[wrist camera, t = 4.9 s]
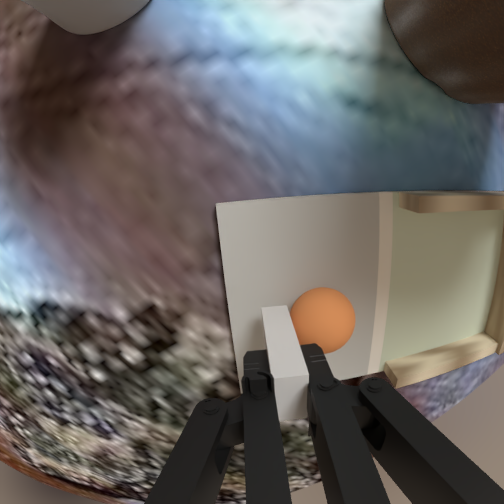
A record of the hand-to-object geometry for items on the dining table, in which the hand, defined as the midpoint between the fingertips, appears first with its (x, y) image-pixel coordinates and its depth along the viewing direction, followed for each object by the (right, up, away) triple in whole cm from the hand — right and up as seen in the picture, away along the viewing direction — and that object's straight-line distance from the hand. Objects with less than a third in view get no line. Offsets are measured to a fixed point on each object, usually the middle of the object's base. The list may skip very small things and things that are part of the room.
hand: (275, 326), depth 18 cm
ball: (+3, 0, 0) cm, 3 cm away
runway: (+9, +2, +2) cm, 9 cm away
